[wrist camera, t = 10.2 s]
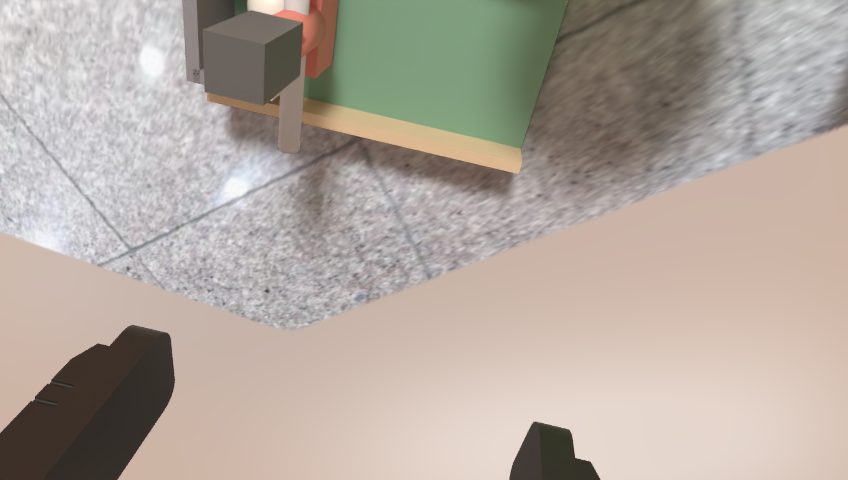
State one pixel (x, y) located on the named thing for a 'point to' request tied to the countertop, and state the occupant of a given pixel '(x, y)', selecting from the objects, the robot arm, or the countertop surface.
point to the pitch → (418, 72)
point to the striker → (271, 58)
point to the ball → (266, 6)
